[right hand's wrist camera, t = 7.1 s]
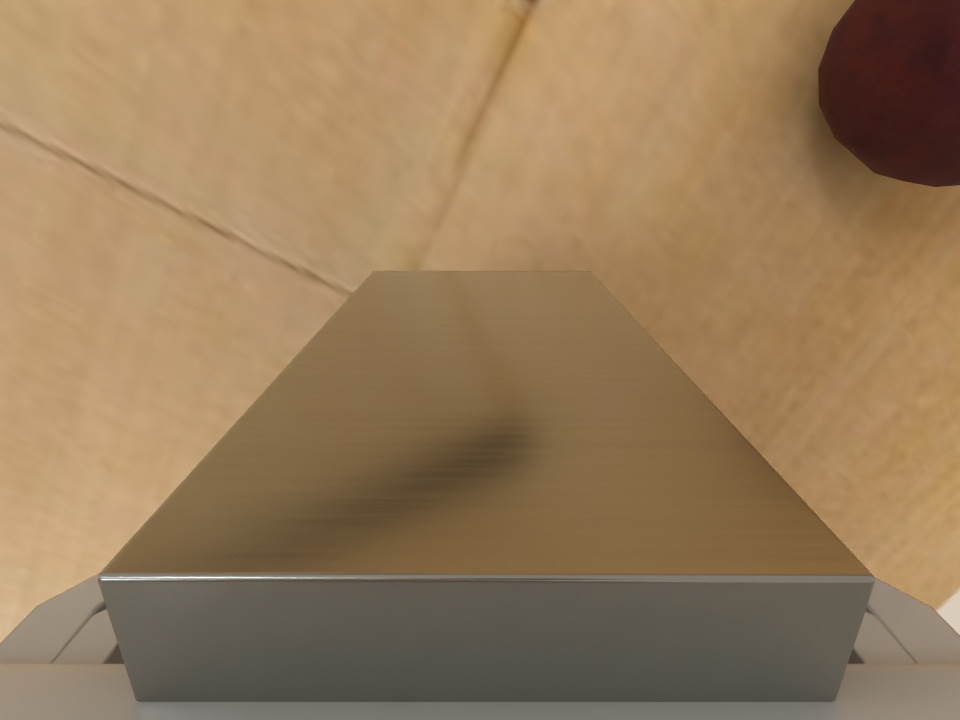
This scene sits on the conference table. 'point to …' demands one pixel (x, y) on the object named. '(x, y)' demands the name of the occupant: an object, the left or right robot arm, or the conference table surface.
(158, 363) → the conference table surface
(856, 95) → the potato
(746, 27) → the conference table surface
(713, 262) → the conference table surface
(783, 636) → the box
